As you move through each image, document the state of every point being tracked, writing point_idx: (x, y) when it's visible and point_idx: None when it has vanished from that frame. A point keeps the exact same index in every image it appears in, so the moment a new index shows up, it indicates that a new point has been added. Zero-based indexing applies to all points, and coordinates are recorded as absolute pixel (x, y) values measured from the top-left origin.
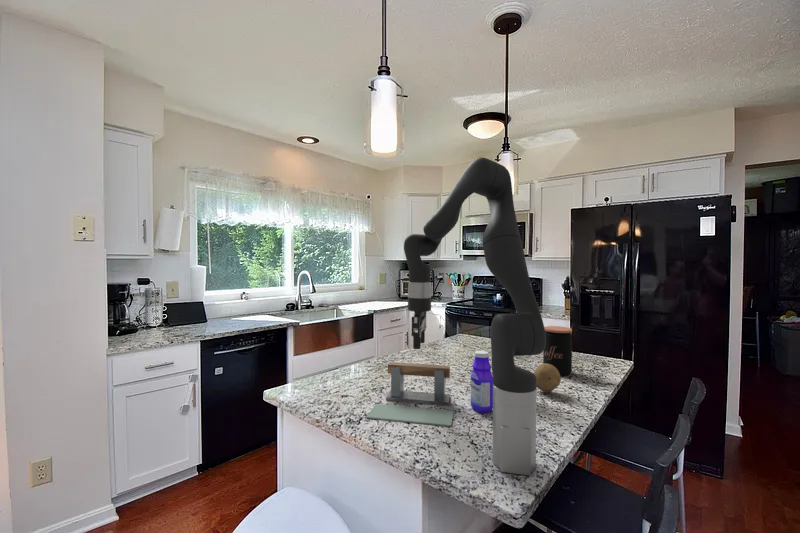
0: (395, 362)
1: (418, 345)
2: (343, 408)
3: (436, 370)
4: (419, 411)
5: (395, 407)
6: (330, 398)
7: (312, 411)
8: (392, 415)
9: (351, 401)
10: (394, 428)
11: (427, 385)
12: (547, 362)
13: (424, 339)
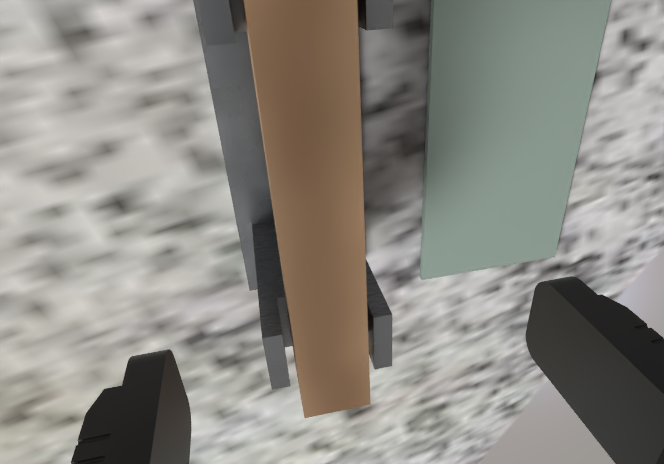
0: (304, 386)
1: (636, 315)
2: (472, 355)
3: (384, 5)
4: (481, 60)
5: (450, 190)
6: (392, 429)
7: (508, 411)
8: (538, 170)
9: (403, 365)
10: (640, 120)
11: (5, 133)
12: None
13: (145, 390)
